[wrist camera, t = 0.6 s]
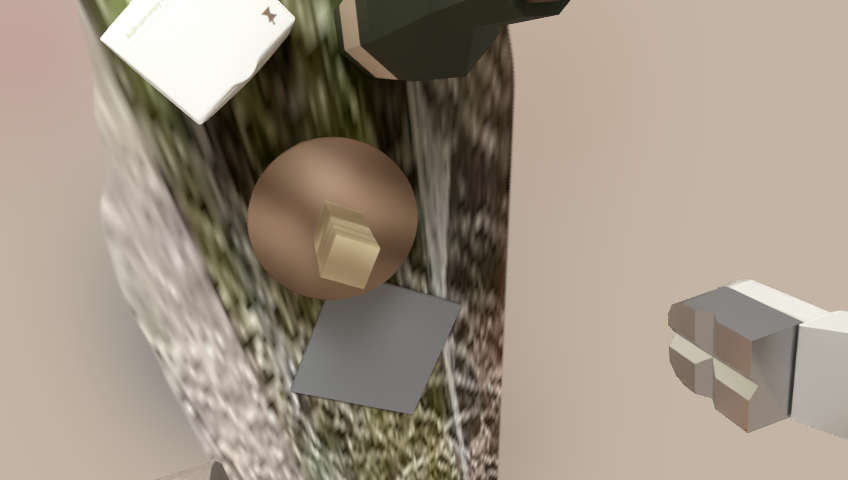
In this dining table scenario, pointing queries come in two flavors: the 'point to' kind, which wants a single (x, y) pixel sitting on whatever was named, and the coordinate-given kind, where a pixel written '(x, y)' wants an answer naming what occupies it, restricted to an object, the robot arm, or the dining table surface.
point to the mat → (376, 348)
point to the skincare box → (198, 47)
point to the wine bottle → (427, 33)
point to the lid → (332, 218)
